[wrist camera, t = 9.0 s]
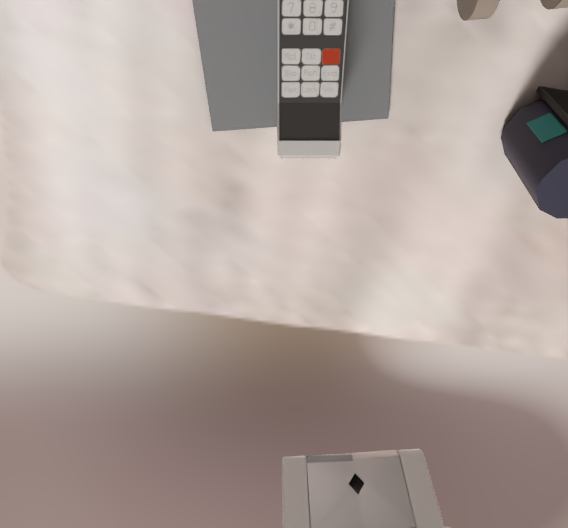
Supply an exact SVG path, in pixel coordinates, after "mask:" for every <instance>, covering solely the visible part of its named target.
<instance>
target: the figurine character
mask: <svg viewBox="0 0 568 528" xmlns="http://www.w3.org/2000/svg"><path fill="white" fill-rule="evenodd" d="M499 1H500V0H457V6H458V11H459V14H460V17H461V18H462V19H463V20H475V19H485V18H489V17H491V16H492V15H493V13H494V12H495V10H496V8H497V6H498V4H499ZM540 1H541V3H542V5H543V6H544V7H545V8H546V9H557V8H567V7H568V0H540Z"/></svg>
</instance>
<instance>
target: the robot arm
mask: <svg viewBox="0 0 568 528" xmlns="http://www.w3.org/2000/svg"><path fill="white" fill-rule="evenodd" d="M306 457H307V463H306ZM282 501H283V528H452V527H445V526H444V523H443V519H442V516H441V512H440V509H439V505H438V502H437V498H436V495H435V491H434V488H433V484H432V481H431V477H430V474H429V470H428V467H427V464H426V460H425V456H424V454H423V453H422V451H421V450H420V449H410V450H409V449H408V450H386V451H373V452H360V453H351V454H334V455H314V456H291V457H283V462H282Z"/></svg>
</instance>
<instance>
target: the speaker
mask: <svg viewBox="0 0 568 528" xmlns="http://www.w3.org/2000/svg"><path fill="white" fill-rule="evenodd" d="M537 92H538V93H539V95H540V96H541V97H542V98H543V99H542V100H540V101H538V102H535V103H533V104H530V105H528V106H525V107H523V108H521V109H520V110H519V111H518V112H517V113H516V114H515V115H514V117H513V118H512V119H511V120H510V121H509V122H508V123H507V124H506V126H505V127H504V130H503V132H502V135H501V139H502V144H503V148H504V153H505V155H506V157H507V158H508V160H509V161H510V163H511V165H512V166H513V168H514V169H515V171H516V173H517V174H518V176H519V177H520V179H521V181H522V182H523V184H524V185H525V187H526V189H527V190H528V192H529V193H530V195H531V197H532V198H533V200H534V201H535V203H536V205H537V206H538V208H539V209H540V210H542V211H544V212H546V213H547V214H549V215H551V216H553V217H555V218H568V91H564V90H558V89H552V88H546V87H540V86H539V88H538V90H537Z"/></svg>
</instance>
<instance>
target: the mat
mask: <svg viewBox="0 0 568 528" xmlns="http://www.w3.org/2000/svg"><path fill="white" fill-rule="evenodd" d="M193 7H194V13H195V20H196V26H197V33H198V39H199V45H200V52H201V58H202V65H203V71H204V78H205V84H206V91H207V97H208V104H209V110H210V117H211V123H212V130H213V131H225V130H238V129H252V128H265V127H277V0H193ZM393 17H394V0H349V7H348V21H347V35H346V48H345V62H344V76H343V90H342V105H341V122H346V121H360V120H373V119H387V118H388V114H389V95H390V75H391V56H392V37H393Z"/></svg>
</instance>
